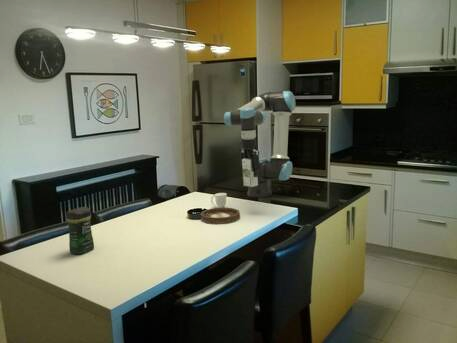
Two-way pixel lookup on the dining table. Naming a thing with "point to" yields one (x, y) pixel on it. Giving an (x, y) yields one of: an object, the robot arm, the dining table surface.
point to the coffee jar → (80, 230)
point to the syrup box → (247, 173)
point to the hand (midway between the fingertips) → (250, 181)
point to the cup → (220, 200)
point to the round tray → (220, 215)
